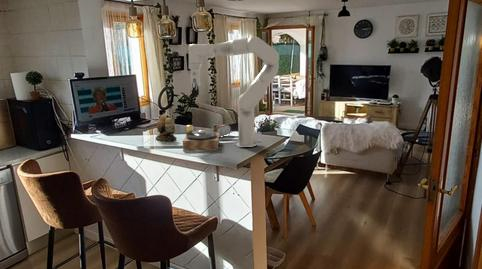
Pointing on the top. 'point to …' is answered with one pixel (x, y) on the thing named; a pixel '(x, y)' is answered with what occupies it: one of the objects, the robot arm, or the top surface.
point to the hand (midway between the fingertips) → (195, 96)
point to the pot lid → (199, 133)
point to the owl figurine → (165, 129)
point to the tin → (222, 129)
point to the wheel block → (200, 143)
